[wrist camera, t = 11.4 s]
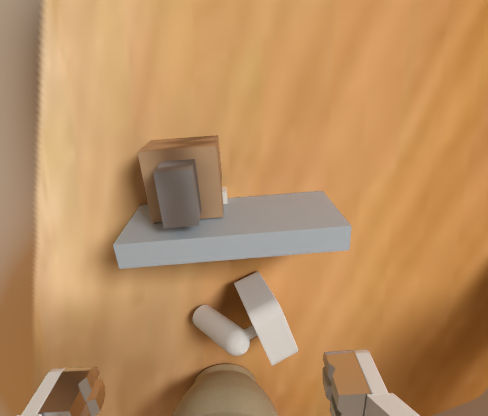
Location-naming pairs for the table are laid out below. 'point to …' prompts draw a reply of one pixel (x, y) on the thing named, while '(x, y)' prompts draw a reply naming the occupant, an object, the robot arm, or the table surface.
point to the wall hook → (261, 315)
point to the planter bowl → (225, 394)
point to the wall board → (238, 232)
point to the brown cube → (182, 180)
